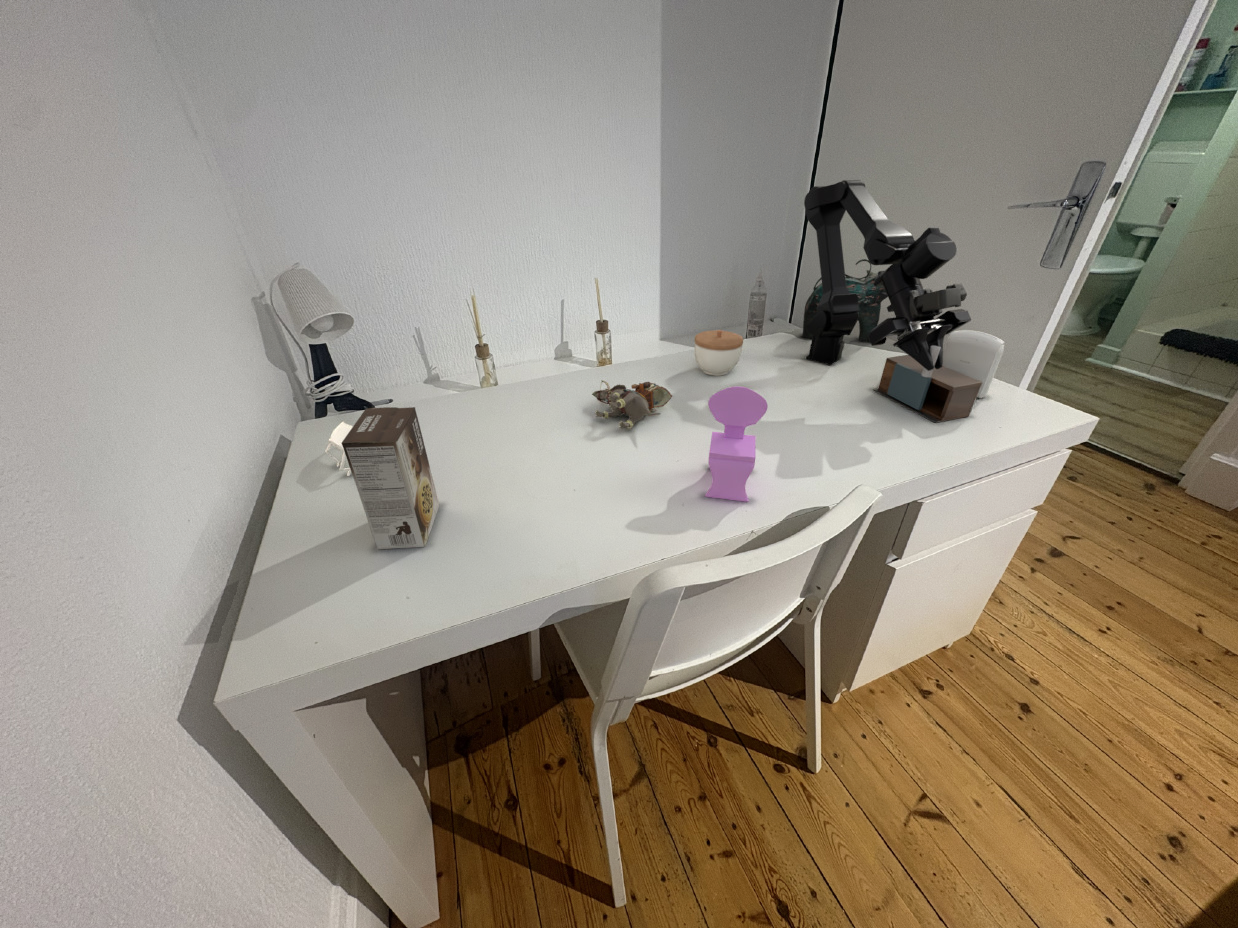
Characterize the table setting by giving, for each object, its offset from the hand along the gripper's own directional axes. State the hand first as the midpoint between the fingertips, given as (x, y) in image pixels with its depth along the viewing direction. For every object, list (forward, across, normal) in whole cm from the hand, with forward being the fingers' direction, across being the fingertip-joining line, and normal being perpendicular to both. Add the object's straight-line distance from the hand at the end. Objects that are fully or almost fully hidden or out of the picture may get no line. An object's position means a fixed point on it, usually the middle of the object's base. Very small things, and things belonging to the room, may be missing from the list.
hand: (935, 369), depth 93 cm
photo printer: (+2, +16, +11) cm, 20 cm away
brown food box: (+9, -93, +4) cm, 94 cm away
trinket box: (-17, -26, +30) cm, 43 cm away
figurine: (-8, -51, +21) cm, 56 cm away
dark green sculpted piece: (-23, +15, +36) cm, 46 cm away
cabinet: (+4, +4, +9) cm, 11 cm away
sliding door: (+3, 0, +9) cm, 10 cm away
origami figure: (-7, -102, +20) cm, 104 cm away
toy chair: (+13, -47, 0) cm, 49 cm away
